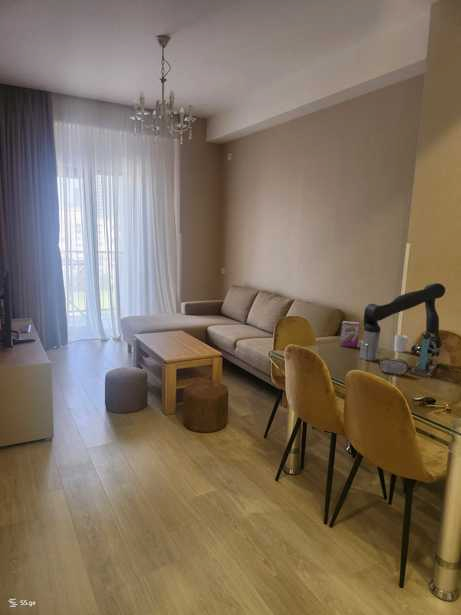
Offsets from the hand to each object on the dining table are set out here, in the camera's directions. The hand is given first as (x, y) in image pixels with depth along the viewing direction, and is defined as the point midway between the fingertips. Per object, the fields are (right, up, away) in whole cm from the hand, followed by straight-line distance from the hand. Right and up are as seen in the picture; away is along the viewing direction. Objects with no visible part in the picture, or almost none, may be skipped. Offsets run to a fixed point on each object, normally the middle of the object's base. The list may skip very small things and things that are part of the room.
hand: (423, 353), depth 232 cm
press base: (+7, -10, +14) cm, 18 cm away
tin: (-17, -11, +1) cm, 20 cm away
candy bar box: (-26, -1, +55) cm, 61 cm away
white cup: (+7, -4, +51) cm, 52 cm away
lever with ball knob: (+2, -10, +6) cm, 11 cm away
